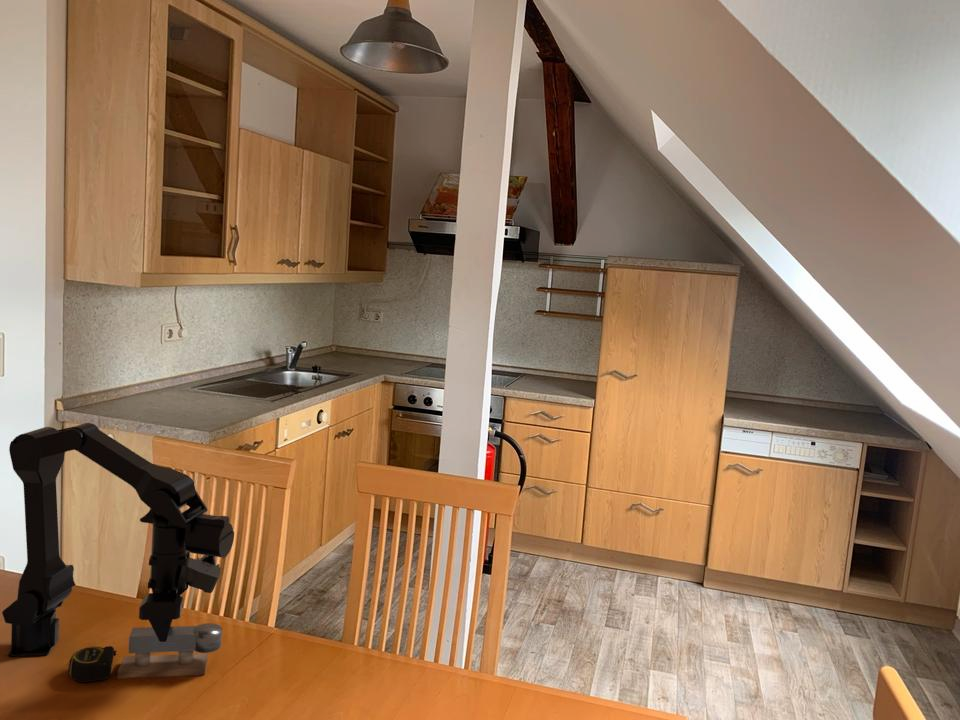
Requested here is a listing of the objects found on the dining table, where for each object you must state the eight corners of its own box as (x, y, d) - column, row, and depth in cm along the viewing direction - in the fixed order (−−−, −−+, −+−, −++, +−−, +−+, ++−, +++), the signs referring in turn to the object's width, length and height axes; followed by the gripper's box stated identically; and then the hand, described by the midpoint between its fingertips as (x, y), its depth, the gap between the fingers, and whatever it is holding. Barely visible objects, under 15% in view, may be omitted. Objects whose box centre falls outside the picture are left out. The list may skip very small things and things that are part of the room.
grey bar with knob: (127, 655, 130) (128, 639, 130) (132, 641, 135) (133, 625, 134) (220, 652, 134) (221, 636, 134) (222, 638, 138) (223, 622, 138)
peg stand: (117, 678, 130) (118, 656, 129) (123, 662, 135) (124, 641, 134) (204, 674, 134) (205, 653, 133) (207, 659, 138) (208, 638, 138)
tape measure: (110, 684, 128) (110, 663, 128) (64, 688, 126) (65, 666, 126) (116, 663, 135) (116, 643, 134) (72, 665, 133) (73, 645, 132)
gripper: (214, 570, 124) (209, 660, 127) (223, 528, 142) (218, 608, 144) (140, 571, 122) (136, 663, 124) (158, 528, 139) (154, 609, 142)
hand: (165, 633), depth 133 cm, fingers open, 5 cm apart
